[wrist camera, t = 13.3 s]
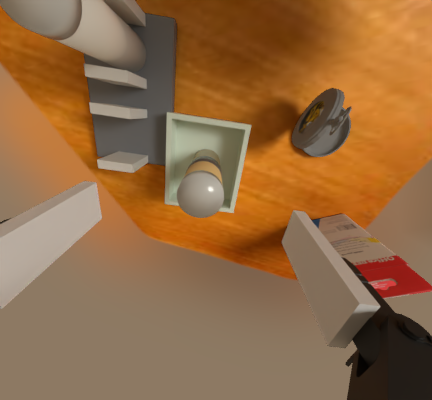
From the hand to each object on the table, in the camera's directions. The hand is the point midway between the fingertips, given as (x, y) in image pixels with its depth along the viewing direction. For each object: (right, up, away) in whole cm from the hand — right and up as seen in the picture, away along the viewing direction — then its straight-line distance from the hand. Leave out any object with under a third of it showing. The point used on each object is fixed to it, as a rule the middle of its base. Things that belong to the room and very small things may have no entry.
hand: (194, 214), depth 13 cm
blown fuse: (0, +6, +14) cm, 16 cm away
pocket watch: (+15, +11, +13) cm, 22 cm away
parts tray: (0, +7, +15) cm, 16 cm away
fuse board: (-9, +14, +11) cm, 20 cm away
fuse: (-8, +18, +8) cm, 21 cm away
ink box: (+19, -4, +20) cm, 28 cm away
